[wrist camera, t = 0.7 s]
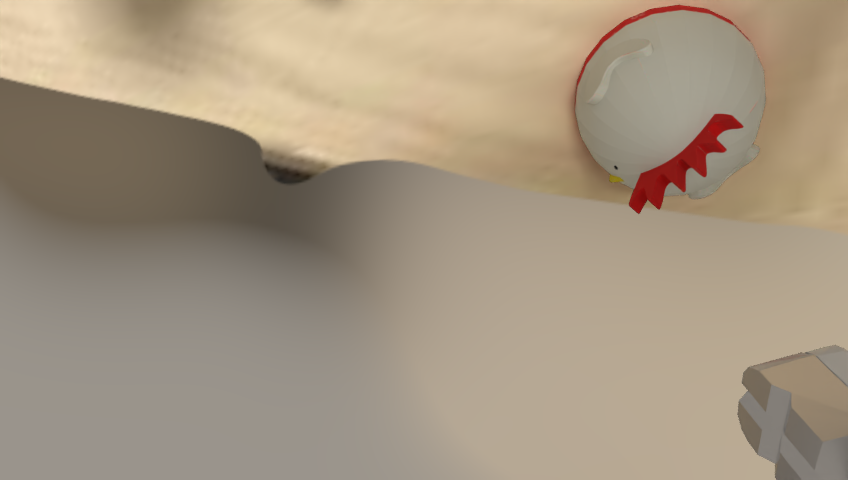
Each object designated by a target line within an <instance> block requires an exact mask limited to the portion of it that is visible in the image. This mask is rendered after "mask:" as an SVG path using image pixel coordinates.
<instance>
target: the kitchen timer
mask: <svg viewBox="0 0 848 480" xmlns="http://www.w3.org/2000/svg"><path fill="white" fill-rule="evenodd" d="M765 101H766V96H765V78H764V70H763V67H762V65H761V63H760V60H759V58H758V56H757V53H756V51H755V49H754V47H753V44H752V43H751V42H750V41H749V39H748V38H747V37H746V36H745V35H744V34H743V33H742V32H741V31H740V30H739V29H738V28H737V27H736V26H735V25H734V24H733V23H732V22H731V21H730V20H728V19H726V18H724V17H722V16H720V15H718V14H716V13H714V12H712V11H710V10H708V9H704V8H697V7H690V6H683V5H675V6H668V7H661V8H654V9H650V10H647V11H645V12H643V13H640V14H638V15H636V16H633V17H631V18H629V19H626V20H624V21H623V22H622V23H620V24H619V25H618V26H617V27H615V28H614V29H613V30H611V31H610V32H609V33H607V34H606V35H605V36H604V37H602V39H601V40H600V41H599V43H598V44H597V45H596V47H595V48H594V49H593V50H592V52H591V53H590V54H589V56H588V57H587V58H586V61H585V63H584V66H583V68H582V71H581V73H580V76H579V78H578V81H577V91H576V101H575V113H576V117H577V122H578V126H579V131H580V135H581V137H582V139H583V141H584V143H585V145H586V146H587V148H588V150H589V151H590V153H591V155H592V156H593V158H594V159H595V160H596V161H597V163H598V164H600V165H601V166H602V167H603V168H604V169H605V170H606V171H607V172H608V173H609V174H610V178H609V181H610V182H620V183H622V184H624V185H626V186H628V187H630V188H632V189H634V191H633V193H632V196H631V199H630V202H629V206H630V207H631V208H632V209H633V210H635V211H636V212H637V213H638V214H639V213H640V212H641V210H642V208H643V206H644V205H645V203H646V201H647V200H648V201H650V202H651V203H652V204H653V205H654V206H655V207H656V208H657V209H660V208H661V205H662V202H663V197H664V196H675V195H685V194H688V195H689V198H691V199H701V198H704V197H707V196H709V195H711V194H712V193H714V192H715V191H716V190H717V189H718V188H719V187H720V186H721V185H722V183H723V182H724V181H725V180H726V179H727V178H728V177H730V176H731V175H732V174H733V173H735V172H736V171H737V170H739V169H740V168H742V167H743V166H745V165H747V164H748V163H750V162H751V161H752V160H753V159H755V157H756V156H757V155H758V153H759V151H760V148H759V147H758V146H756V145H754V144H753V143H754V141H755V139H756V136H757V133H758V129H759V125H760V122H761V118H762V115H763V111H764V107H765Z"/></svg>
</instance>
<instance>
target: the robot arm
mask: <svg viewBox="0 0 848 480" xmlns="http://www.w3.org/2000/svg"><path fill="white" fill-rule="evenodd" d="M742 384H743V385H744V386H745V387H746V389H747V390H748V391H747V392H746V393H745V394H744V396H743V397H742V398H741V399H740V400H739V405H738V417H739V421H740V424H741V429H742V431H743V433H744V435H745V437H746V439H747V440H748V442H749V444H750V445H751V446H752V447H753V449H754V450H755V452H756V453H757V454H758V455H759V456H761V457H763V458H765V459H767V460H769V461H771V462H773V463H775V478H776V480H848V351H847V350H846V349H844V348H842V347H839V346H837V345H832V346H827V347H823V348H820V349H816V350H813V351H809V352H806V353H798V354H795V355H791V356H787V357H783V358H780V359H776V360H773V361H769V362H765V363H762V364H758V365H754V366H751V367H748V368H747V369H746V370H745V371H744V373H743V379H742Z"/></svg>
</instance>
